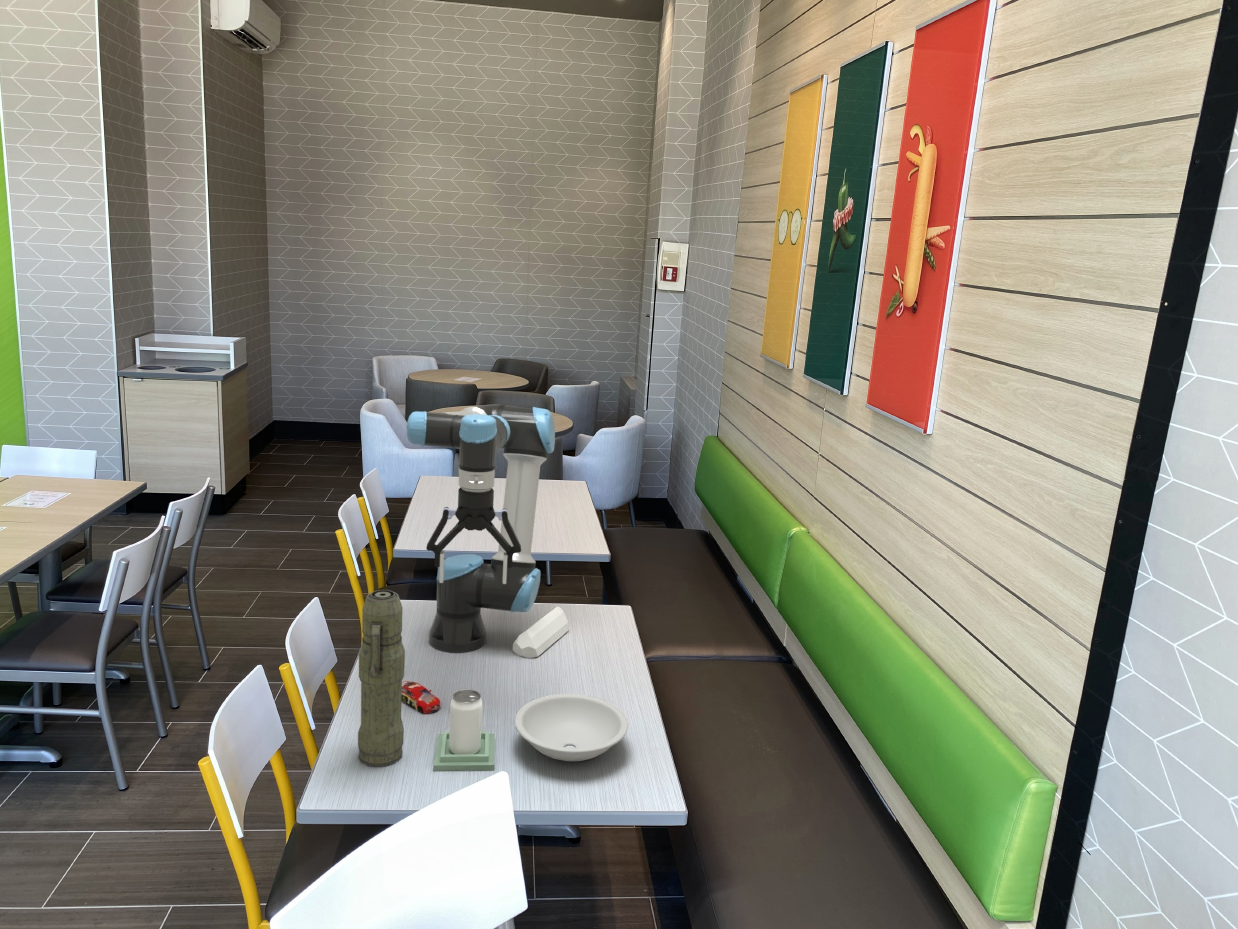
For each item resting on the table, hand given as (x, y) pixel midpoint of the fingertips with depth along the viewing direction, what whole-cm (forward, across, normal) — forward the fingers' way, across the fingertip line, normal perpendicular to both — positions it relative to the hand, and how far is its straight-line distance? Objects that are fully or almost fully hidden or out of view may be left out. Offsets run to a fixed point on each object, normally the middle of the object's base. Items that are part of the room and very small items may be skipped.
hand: (473, 581), depth 191 cm
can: (+30, 0, -18) cm, 35 cm away
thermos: (+31, -17, -18) cm, 40 cm away
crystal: (+32, +18, +38) cm, 53 cm away
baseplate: (+31, 0, -18) cm, 36 cm away
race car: (+32, -12, +4) cm, 34 cm away
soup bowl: (+31, +22, -16) cm, 42 cm away
